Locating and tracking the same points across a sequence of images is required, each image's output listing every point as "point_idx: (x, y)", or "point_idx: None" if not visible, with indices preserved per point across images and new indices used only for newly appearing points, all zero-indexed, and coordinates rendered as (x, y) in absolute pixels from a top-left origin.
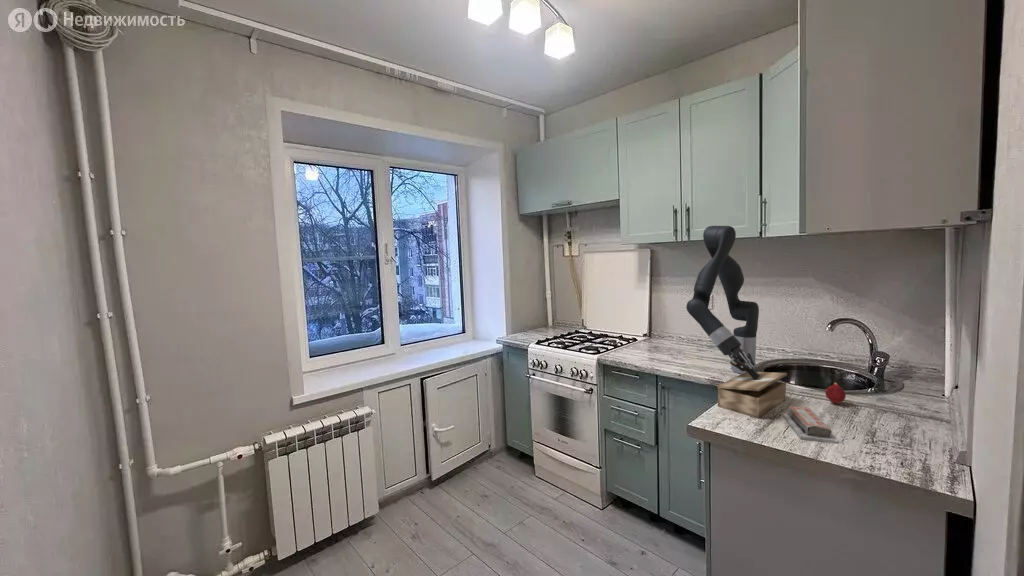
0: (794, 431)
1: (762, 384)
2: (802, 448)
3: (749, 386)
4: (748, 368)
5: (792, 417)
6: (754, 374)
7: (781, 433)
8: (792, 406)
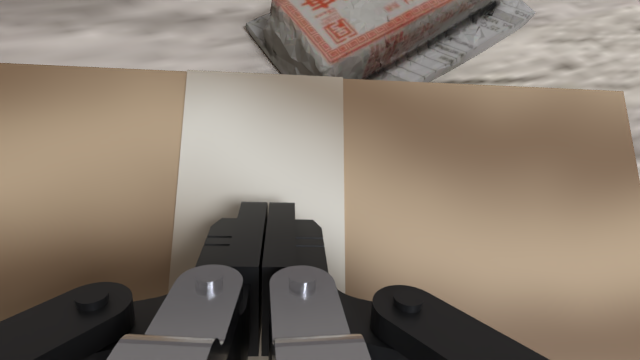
0: (479, 52)
1: (466, 114)
2: (592, 6)
3: (585, 198)
4: (349, 303)
5: (365, 75)
6: (317, 236)
7: (543, 82)
8: (324, 54)
